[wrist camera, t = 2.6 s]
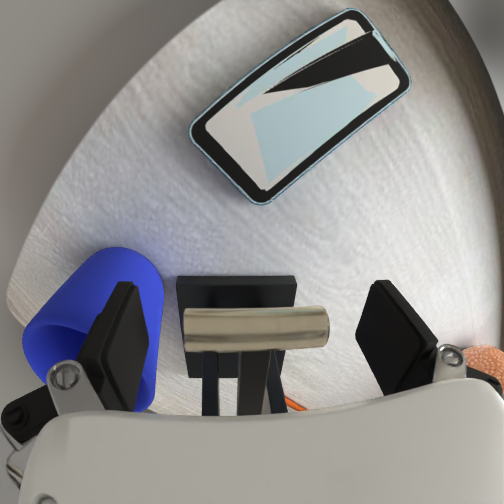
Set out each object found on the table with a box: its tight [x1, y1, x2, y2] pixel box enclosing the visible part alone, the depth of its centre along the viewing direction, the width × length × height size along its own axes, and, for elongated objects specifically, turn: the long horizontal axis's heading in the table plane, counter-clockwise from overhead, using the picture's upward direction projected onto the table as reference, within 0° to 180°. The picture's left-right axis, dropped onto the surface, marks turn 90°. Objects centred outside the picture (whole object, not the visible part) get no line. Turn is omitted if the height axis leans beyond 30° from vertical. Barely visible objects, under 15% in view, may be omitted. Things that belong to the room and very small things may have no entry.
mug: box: [22, 247, 164, 412], centre depth 17 cm, size 8×12×10 cm
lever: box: [183, 306, 330, 416], centre depth 12 cm, size 12×5×2 cm, turn 177°
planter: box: [462, 345, 504, 393], centre depth 26 cm, size 21×21×19 cm
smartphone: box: [188, 8, 411, 205], centre depth 16 cm, size 7×1×15 cm
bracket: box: [176, 276, 297, 416], centre depth 18 cm, size 11×9×13 cm
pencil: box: [285, 397, 306, 411], centre depth 31 cm, size 1×18×1 cm, turn 38°
